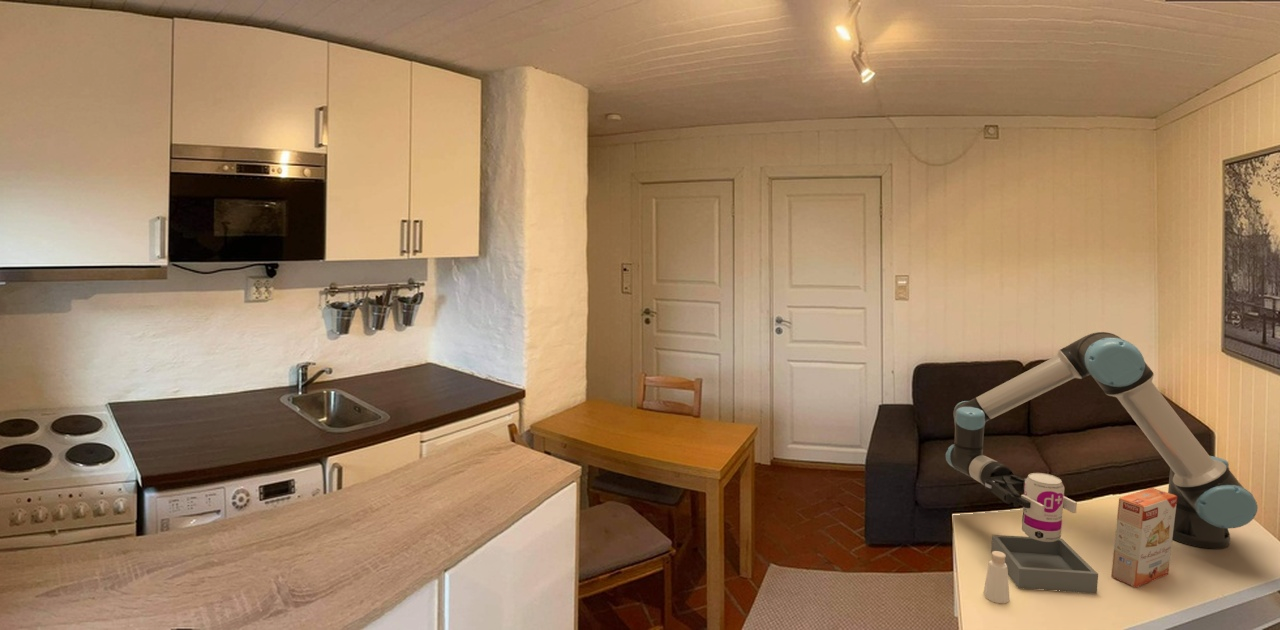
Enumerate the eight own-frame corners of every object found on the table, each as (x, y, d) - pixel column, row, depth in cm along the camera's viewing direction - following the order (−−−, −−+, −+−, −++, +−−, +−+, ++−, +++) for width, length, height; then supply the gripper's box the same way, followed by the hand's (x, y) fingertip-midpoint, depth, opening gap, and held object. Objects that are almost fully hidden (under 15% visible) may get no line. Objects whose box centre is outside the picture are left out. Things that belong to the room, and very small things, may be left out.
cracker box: (1137, 589, 147) (1145, 506, 144) (1109, 577, 152) (1116, 496, 150) (1171, 575, 152) (1179, 494, 150) (1143, 563, 158) (1150, 485, 155)
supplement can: (1066, 544, 150) (1071, 486, 148) (1028, 541, 152) (1032, 483, 150) (1052, 528, 158) (1056, 473, 156) (1016, 526, 160) (1020, 471, 158)
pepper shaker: (985, 587, 149) (987, 545, 148) (1011, 595, 146) (1014, 552, 144) (981, 598, 145) (983, 554, 143) (1007, 606, 141) (1010, 562, 140)
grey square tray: (1060, 556, 162) (1062, 538, 162) (1096, 593, 146) (1098, 574, 145) (990, 552, 165) (991, 534, 164) (1018, 588, 149) (1019, 568, 148)
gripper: (1024, 483, 174) (1095, 520, 152) (956, 489, 170) (1019, 528, 148) (1025, 457, 173) (1097, 491, 151) (958, 463, 169) (1021, 498, 147)
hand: (1059, 509), depth 149 cm, fingers closed on supplement can, 8 cm apart
